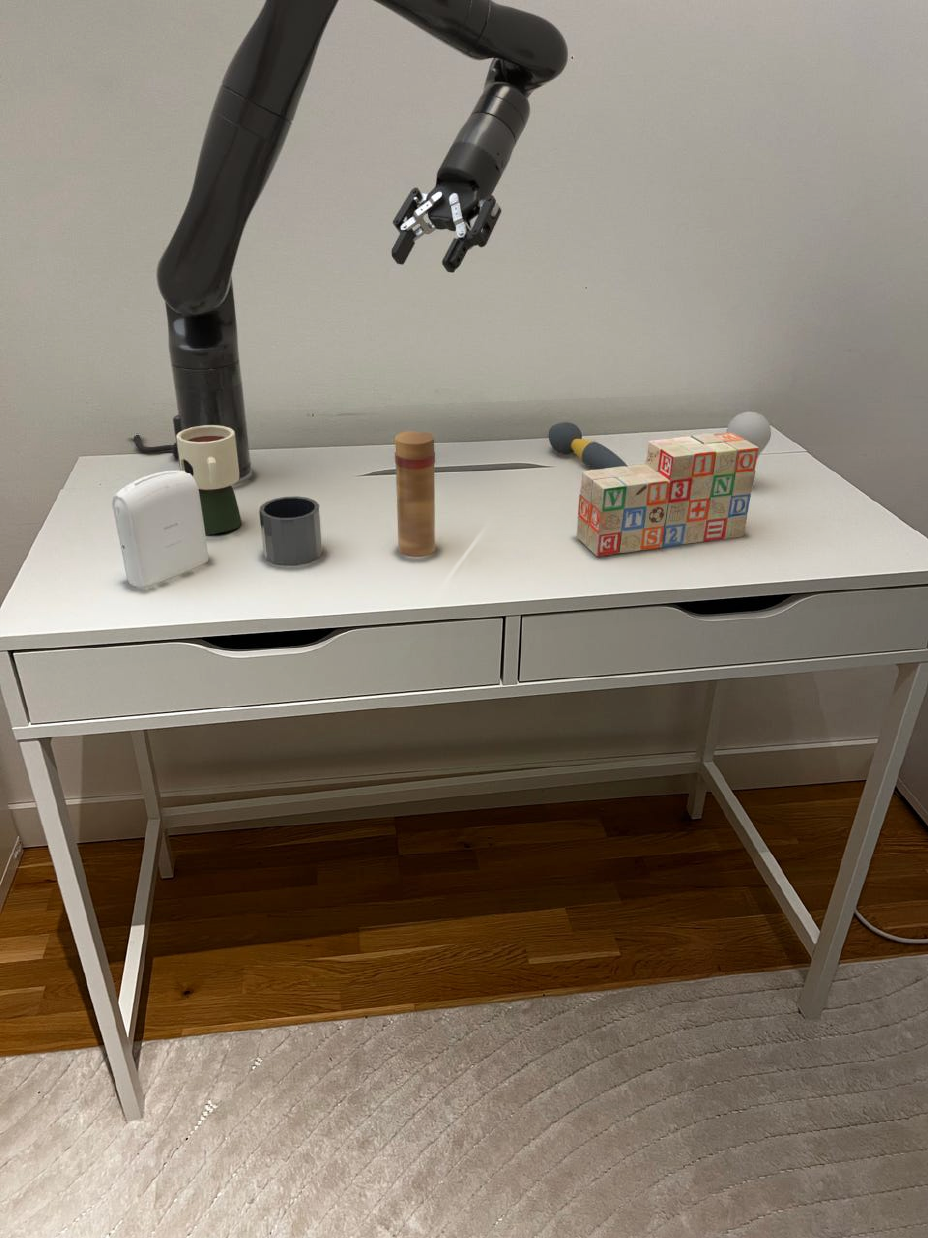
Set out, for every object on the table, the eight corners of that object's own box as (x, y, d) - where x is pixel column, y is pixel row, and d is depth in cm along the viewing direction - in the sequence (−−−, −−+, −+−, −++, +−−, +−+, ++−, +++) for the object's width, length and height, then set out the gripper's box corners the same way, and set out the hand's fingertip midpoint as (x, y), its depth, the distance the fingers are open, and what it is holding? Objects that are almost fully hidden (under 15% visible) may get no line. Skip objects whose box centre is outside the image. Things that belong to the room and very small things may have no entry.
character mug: (185, 516, 130) (172, 423, 124) (239, 510, 133) (228, 417, 126) (194, 550, 122) (180, 451, 115) (251, 542, 124) (240, 444, 117)
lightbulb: (715, 490, 140) (726, 416, 135) (722, 475, 145) (733, 403, 140) (758, 496, 138) (771, 421, 133) (764, 481, 143) (776, 409, 138)
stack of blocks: (596, 558, 120) (604, 464, 114) (575, 538, 125) (582, 447, 119) (745, 536, 126) (760, 445, 120) (719, 517, 132) (732, 430, 125)
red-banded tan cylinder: (392, 557, 120) (388, 441, 113) (405, 541, 124) (403, 428, 117) (428, 562, 119) (426, 445, 112) (440, 547, 123) (440, 432, 115)
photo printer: (142, 594, 111) (124, 493, 105) (121, 582, 114) (102, 483, 108) (215, 563, 118) (202, 468, 112) (193, 553, 121) (180, 459, 115)
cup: (254, 564, 118) (248, 514, 115) (281, 540, 124) (276, 493, 121) (307, 572, 116) (303, 522, 113) (332, 548, 122) (328, 500, 119)
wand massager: (647, 478, 144) (650, 445, 141) (623, 485, 141) (626, 452, 139) (556, 442, 157) (557, 412, 155) (533, 448, 155) (534, 418, 152)
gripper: (421, 136, 128) (366, 239, 126) (509, 142, 120) (451, 251, 118) (446, 177, 134) (394, 276, 132) (531, 185, 127) (477, 289, 125)
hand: (421, 264), depth 125 cm, fingers open, 8 cm apart
